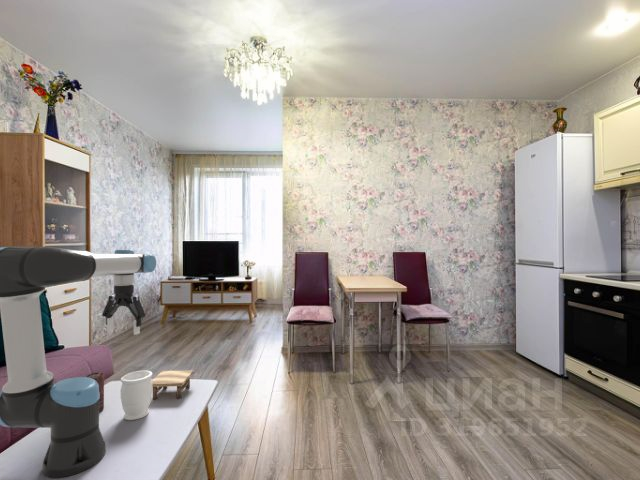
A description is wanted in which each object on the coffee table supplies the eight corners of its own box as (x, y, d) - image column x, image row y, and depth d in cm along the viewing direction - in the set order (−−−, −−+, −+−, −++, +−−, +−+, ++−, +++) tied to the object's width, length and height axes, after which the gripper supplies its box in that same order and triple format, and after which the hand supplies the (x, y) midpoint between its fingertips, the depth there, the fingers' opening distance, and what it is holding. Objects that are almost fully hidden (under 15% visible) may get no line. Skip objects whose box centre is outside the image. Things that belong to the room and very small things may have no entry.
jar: (144, 405, 131) (144, 368, 132) (157, 413, 125) (157, 373, 126) (115, 416, 123) (115, 376, 123) (128, 425, 117) (128, 383, 117)
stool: (182, 400, 136) (182, 383, 136) (147, 400, 135) (147, 384, 135) (193, 385, 150) (193, 370, 150) (162, 386, 149) (162, 370, 149)
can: (108, 407, 130) (108, 372, 130) (95, 415, 124) (95, 378, 124) (94, 406, 131) (94, 371, 131) (80, 414, 124) (81, 377, 124)
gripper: (154, 284, 144) (154, 332, 143) (107, 283, 149) (106, 329, 148) (142, 286, 136) (141, 337, 136) (92, 284, 142) (92, 333, 141)
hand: (123, 333), depth 142 cm, fingers open, 13 cm apart
